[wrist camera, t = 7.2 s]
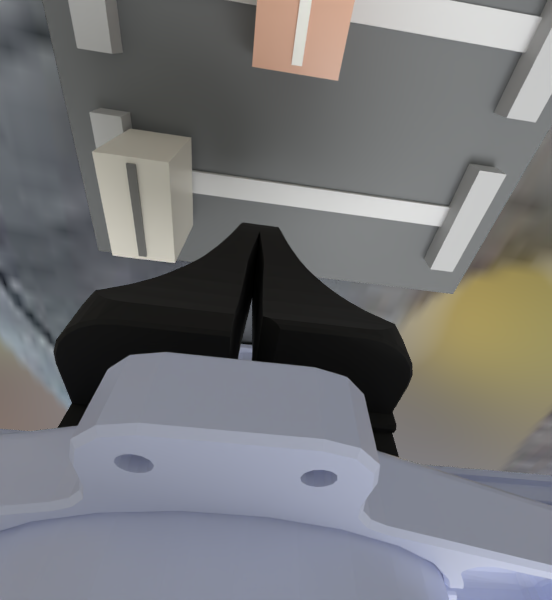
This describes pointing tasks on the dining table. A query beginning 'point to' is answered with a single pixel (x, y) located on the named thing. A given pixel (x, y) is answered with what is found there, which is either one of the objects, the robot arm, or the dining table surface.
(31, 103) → the dining table surface
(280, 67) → the fader
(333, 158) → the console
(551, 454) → the dining table surface
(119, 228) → the fader
